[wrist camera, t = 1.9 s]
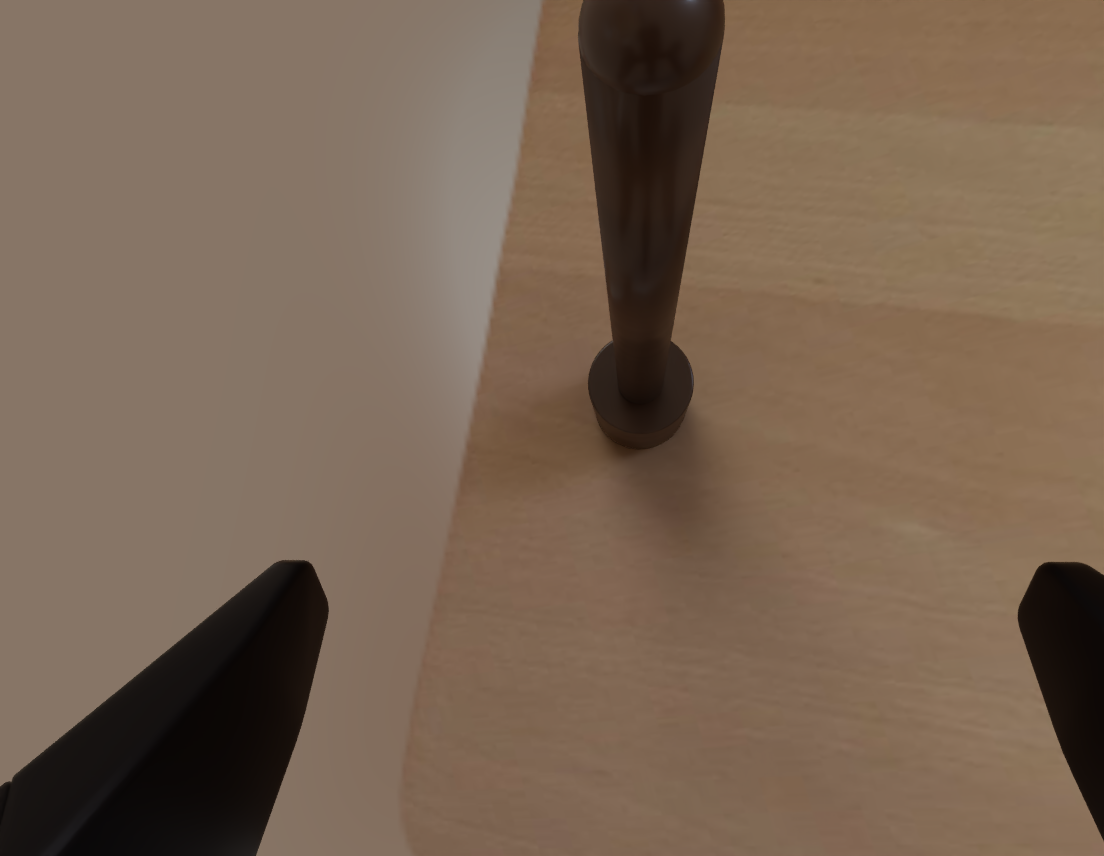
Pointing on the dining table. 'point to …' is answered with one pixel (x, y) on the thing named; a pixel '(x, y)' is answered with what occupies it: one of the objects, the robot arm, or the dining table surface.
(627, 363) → the brown pestle
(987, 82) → the dining table surface
